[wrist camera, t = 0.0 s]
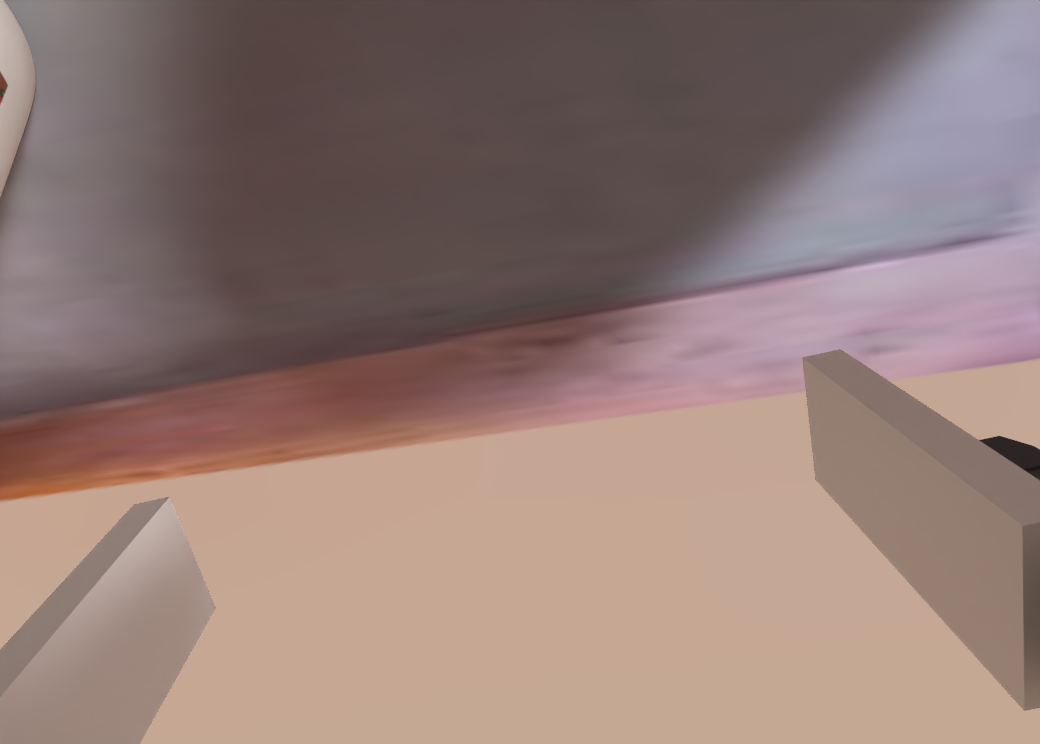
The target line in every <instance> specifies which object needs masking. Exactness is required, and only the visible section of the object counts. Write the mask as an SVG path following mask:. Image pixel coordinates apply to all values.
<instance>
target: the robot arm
mask: <svg viewBox="0 0 1040 744" xmlns="http://www.w3.org/2000/svg"><path fill="white" fill-rule="evenodd" d="M802 359H803V368H804V377H805V387H806V396H807V405H808V414H809V424H810V433H811V443H812V452H813V461H814V471H815V479H816V480H817V482H818V483H819V484H820V485H821V486H822V487H823V488H824V489H825V491H826V492H827V493H828V494H829V495H830V496H831V497H832V498H833V499H834V501H835V502H836V503H837V504H838V505H839V506H840V507H841V508H842V509H843V510H844V512H845V513H846V514H847V515H848V516H849V517H850V518H851V519H852V520H853V521H854V523H855V524H856V525H857V526H858V527H859V528H860V529H861V530H862V531H863V533H864V534H865V535H866V536H867V537H868V538H869V539H870V540H871V541H872V543H873V544H874V545H875V546H876V547H877V548H878V549H879V550H880V551H881V553H882V554H883V555H884V556H885V557H886V558H887V559H888V560H889V561H890V563H892V565H893V566H894V567H895V568H896V569H897V570H898V571H899V572H900V574H901V575H902V576H903V577H904V578H905V579H906V580H907V581H908V582H909V584H910V585H911V586H912V587H913V588H914V589H915V590H916V591H917V592H918V594H919V595H920V596H921V597H922V598H923V599H924V600H925V601H926V602H927V603H928V604H929V606H930V607H931V608H932V609H933V610H934V611H935V612H936V613H937V615H938V616H939V617H940V618H941V619H942V620H943V621H944V622H945V623H946V624H947V626H949V628H950V629H951V630H952V631H953V632H954V633H955V634H956V636H957V637H958V638H959V639H960V640H961V641H962V642H963V643H964V644H965V646H966V647H968V649H969V650H970V651H971V652H972V653H973V654H974V656H975V657H976V658H977V659H978V660H979V661H980V662H981V663H982V664H983V666H984V667H985V668H986V669H987V670H988V671H989V672H990V673H991V674H992V675H993V676H994V678H995V679H996V680H997V681H998V682H999V683H1000V684H1001V685H1002V687H1003V688H1004V689H1005V690H1006V691H1007V692H1008V693H1009V694H1010V695H1011V697H1012V698H1014V700H1015V701H1016V702H1017V703H1018V704H1019V705H1020V706H1021V708H1022V709H1023V710H1031V709H1035V708H1040V450H1039V449H1038V448H1036V447H1034V446H1031V445H1028V444H1024V443H1021V442H1018V441H1014V440H1011V439H1008V438H1004V437H1001V436H997V437H993V438H988V439H983V440H978V439H976V438H975V437H973V436H972V435H970V434H968V433H967V432H965V431H964V430H962V429H961V428H959V427H958V426H956V425H955V424H953V423H952V422H950V421H948V420H947V419H946V418H944V417H942V416H941V415H940V414H938V413H937V412H935V411H934V410H932V409H930V408H929V407H927V406H926V405H924V404H923V403H921V402H920V401H918V400H917V399H915V398H914V397H912V396H911V395H909V394H908V393H906V392H905V391H903V390H901V389H900V388H898V387H897V386H895V385H894V384H892V383H891V382H889V381H888V380H886V379H885V378H883V377H882V376H880V375H879V374H877V373H876V372H874V371H873V370H871V369H870V368H868V367H867V366H865V365H864V364H862V363H861V362H859V361H857V360H856V359H854V358H853V357H851V356H850V355H848V354H847V353H845V352H844V351H842V350H841V349H839V350H835V351H830V352H826V353H821V354H817V355H812V356H808V357H803V358H802ZM214 610H215V605H214V603H213V601H212V598H211V596H210V593H209V591H208V588H207V586H206V584H205V581H204V579H203V576H202V574H201V571H200V569H199V567H198V565H197V562H196V560H195V557H194V555H193V552H192V550H191V547H190V545H189V542H188V540H187V537H186V535H185V533H184V530H183V528H182V526H181V523H180V521H179V518H178V516H177V513H176V511H175V509H174V506H173V504H172V501H171V499H170V497H166V498H162V499H157V500H153V501H148V502H144V503H139V504H134V505H133V506H132V507H131V508H130V509H129V511H128V512H127V513H126V514H125V515H124V516H123V517H122V518H121V519H120V520H119V521H118V523H116V525H115V526H114V527H113V528H112V529H111V530H110V531H109V532H108V533H107V534H106V535H105V537H104V538H103V539H102V540H101V541H100V542H99V543H98V544H97V545H96V546H95V547H94V549H93V550H92V551H91V552H90V553H89V554H88V555H87V556H86V557H85V558H84V559H83V561H82V562H81V563H80V564H79V565H78V566H77V567H76V568H75V569H74V570H73V571H72V572H71V573H70V575H69V576H68V577H67V578H66V579H65V580H64V581H63V582H62V583H61V584H60V585H59V586H58V588H57V589H56V590H55V591H54V592H53V593H52V594H51V595H50V596H49V597H48V598H47V599H46V601H45V602H44V603H43V604H42V605H41V606H40V607H39V608H38V609H37V611H35V612H34V614H33V615H32V616H31V617H30V618H29V619H28V620H27V621H26V622H25V623H24V624H23V626H22V627H21V628H20V629H19V630H18V631H17V632H16V633H15V634H14V635H13V637H11V639H10V640H9V641H8V642H7V643H6V644H5V645H4V646H3V647H2V648H1V650H0V744H140V742H141V740H142V739H143V737H144V735H145V733H146V731H147V730H148V728H149V726H150V724H151V723H152V721H153V719H154V717H155V715H156V714H157V712H158V710H159V708H160V706H161V705H162V703H163V701H164V699H165V698H166V696H167V694H168V692H169V690H170V689H171V687H172V685H173V683H174V681H175V680H176V678H177V676H178V674H179V673H180V671H181V669H182V667H183V665H184V664H185V662H186V660H187V658H188V656H189V655H190V653H191V651H192V649H193V648H194V646H195V644H196V642H197V640H198V639H199V637H200V635H201V633H202V631H203V630H204V628H205V626H206V624H207V622H208V621H209V619H210V617H211V615H212V614H213V612H214Z"/></svg>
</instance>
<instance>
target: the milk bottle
mask: <svg viewBox="0 0 1040 744" xmlns="http://www.w3.org/2000/svg"><path fill="white" fill-rule="evenodd" d="M35 84H36V78H35V68H34V63H33V58H32V55H31V51H30V48H29V45H28V43H27V41H26V38H25V36H24V33H23V31H22V29H21V26H20V24H19V23H18V21H17V20H16V18H15V16H14V15H13V13H12V12H11V10H10V8H9V6H8V5H7V3H6V1H5V0H0V197H1V194H2V191H3V189H4V186H5V183H6V180H7V177H8V175H9V172H10V169H11V166H12V163H13V161H14V158H15V155H16V152H17V149H18V146H19V144H20V141H21V138H22V135H23V132H24V129H25V127H26V124H27V121H28V117H29V114H30V110H31V107H32V103H33V99H34V94H35Z"/></svg>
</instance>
